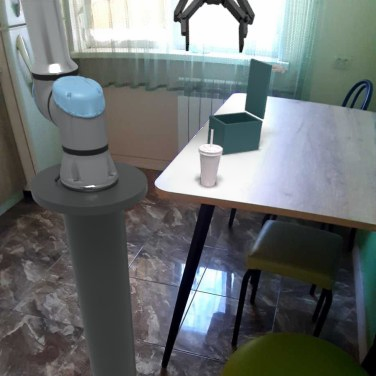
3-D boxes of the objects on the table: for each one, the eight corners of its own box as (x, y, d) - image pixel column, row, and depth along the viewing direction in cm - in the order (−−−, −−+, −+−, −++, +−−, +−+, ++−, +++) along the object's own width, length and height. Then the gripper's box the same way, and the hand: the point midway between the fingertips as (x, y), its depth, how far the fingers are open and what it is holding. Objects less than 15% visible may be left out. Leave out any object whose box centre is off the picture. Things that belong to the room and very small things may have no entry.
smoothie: (220, 180, 116) (225, 127, 106) (218, 190, 111) (223, 135, 102) (198, 178, 117) (201, 125, 107) (194, 187, 112) (197, 133, 102)
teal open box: (222, 154, 131) (225, 125, 125) (207, 144, 138) (209, 115, 132) (258, 149, 136) (262, 120, 130) (241, 139, 143) (245, 111, 137)
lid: (270, 65, 120) (292, 64, 122) (250, 58, 126) (272, 57, 129) (261, 119, 129) (282, 117, 132) (244, 110, 136) (264, 108, 139)
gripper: (258, -19, 108) (260, 60, 107) (163, -23, 106) (164, 57, 105) (265, -47, 100) (267, 38, 99) (163, -52, 98) (164, 35, 98)
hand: (214, 48), depth 102 cm, fingers open, 13 cm apart
